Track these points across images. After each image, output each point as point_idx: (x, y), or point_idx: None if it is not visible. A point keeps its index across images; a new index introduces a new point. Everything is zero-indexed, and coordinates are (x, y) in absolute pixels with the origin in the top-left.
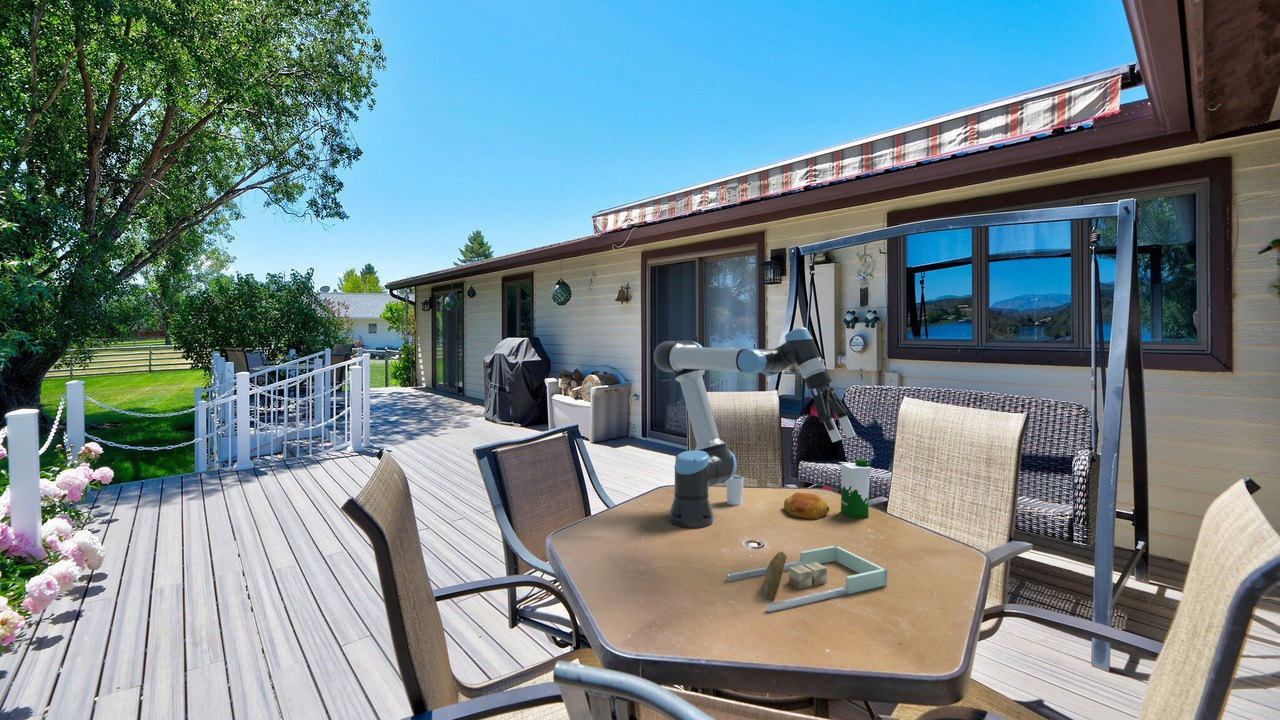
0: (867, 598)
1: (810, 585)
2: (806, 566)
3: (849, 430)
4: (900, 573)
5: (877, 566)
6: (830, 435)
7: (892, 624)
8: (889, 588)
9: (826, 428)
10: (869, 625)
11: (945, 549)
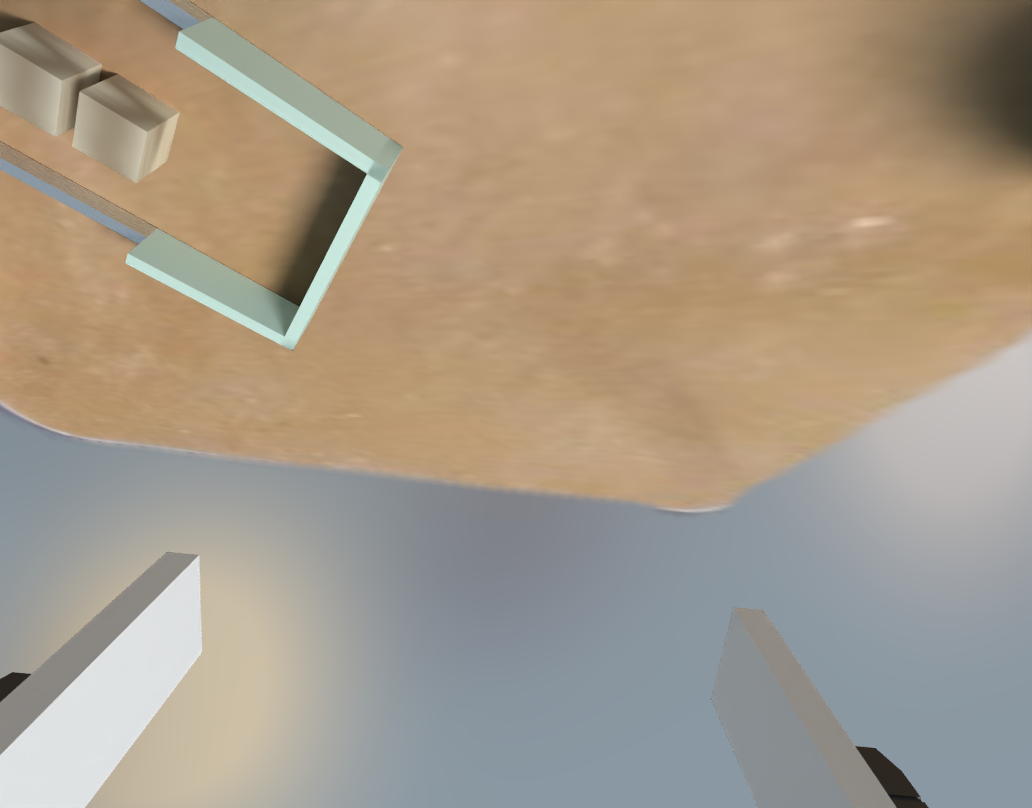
0: None
1: None
2: (80, 101)
3: (750, 729)
4: (428, 348)
5: (296, 326)
6: (109, 615)
7: (105, 344)
8: None
9: (20, 686)
10: (46, 304)
11: (719, 445)
